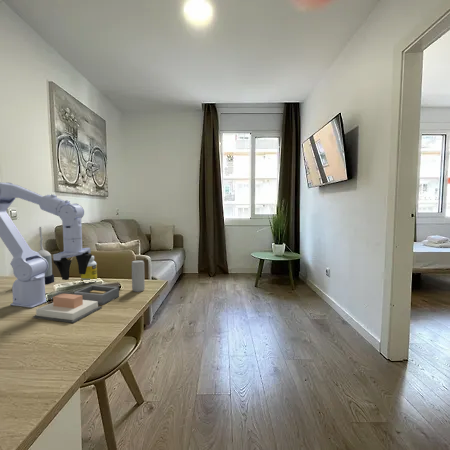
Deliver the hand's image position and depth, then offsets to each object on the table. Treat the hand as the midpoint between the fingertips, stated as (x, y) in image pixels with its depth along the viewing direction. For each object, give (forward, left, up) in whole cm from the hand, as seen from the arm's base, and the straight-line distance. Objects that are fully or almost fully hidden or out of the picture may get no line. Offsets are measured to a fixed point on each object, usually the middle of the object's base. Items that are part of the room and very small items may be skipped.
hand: (74, 276), depth 95 cm
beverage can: (+14, +18, -10) cm, 25 cm away
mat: (+5, -8, -9) cm, 13 cm away
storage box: (+5, +5, -9) cm, 12 cm away
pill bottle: (-14, +23, -10) cm, 29 cm away
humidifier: (-33, +17, -10) cm, 38 cm away
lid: (+5, -8, -9) cm, 13 cm away
